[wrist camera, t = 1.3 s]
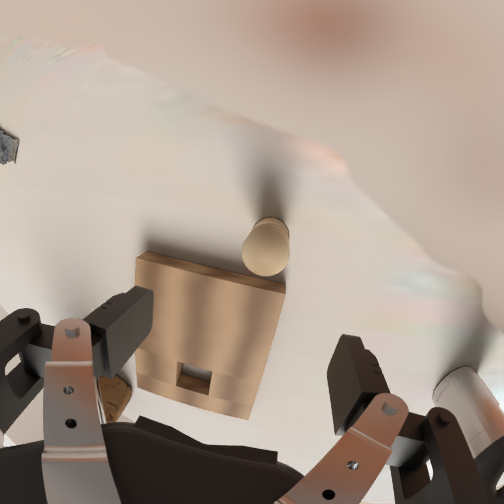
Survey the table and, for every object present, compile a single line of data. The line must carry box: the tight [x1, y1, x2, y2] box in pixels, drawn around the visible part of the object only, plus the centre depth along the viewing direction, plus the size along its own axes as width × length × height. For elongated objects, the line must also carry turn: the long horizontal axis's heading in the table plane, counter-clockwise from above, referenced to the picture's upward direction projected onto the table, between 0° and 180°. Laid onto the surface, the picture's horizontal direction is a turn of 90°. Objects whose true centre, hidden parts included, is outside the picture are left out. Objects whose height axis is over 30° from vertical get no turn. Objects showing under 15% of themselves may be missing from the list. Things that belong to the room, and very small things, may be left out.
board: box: [135, 251, 286, 420], centre depth 35 cm, size 18×22×3 cm
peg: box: [242, 217, 289, 276], centre depth 27 cm, size 4×4×10 cm
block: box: [98, 375, 132, 423], centre depth 33 cm, size 11×8×20 cm
